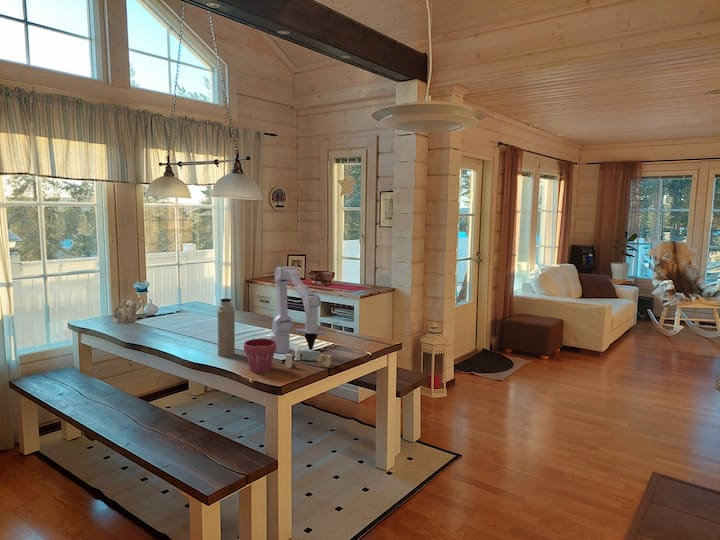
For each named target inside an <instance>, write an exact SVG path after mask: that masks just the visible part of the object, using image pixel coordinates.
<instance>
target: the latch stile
mask: <svg viewBox="0 0 720 540" xmlns="http://www.w3.org/2000/svg"><path fill="white" fill-rule="evenodd" d="M292 367H293V354H292V353H285V368H288V369H291V368H292Z"/></svg>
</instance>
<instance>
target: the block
mask: <svg viewBox="0 0 720 540" xmlns="http://www.w3.org/2000/svg"><path fill="white" fill-rule="evenodd" d="M331 365H332V354H325V353H320V355H319V356H318V361H317V367H321V368H322V367H324V368H329V367H330V366H331Z"/></svg>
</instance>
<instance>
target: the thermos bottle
mask: <svg viewBox="0 0 720 540" xmlns="http://www.w3.org/2000/svg"><path fill="white" fill-rule="evenodd" d="M235 317H236V316H235V309H234V305H233V304H232V298H228V297H227V298H221V299H220V304H219V306H218V310H217V356H218V357H222V358H228V357H234V356H235V350H236V349H235V347H236V345H235V344H236V343H235V341H236V340H235V331H236V330H235V329H236V328H235V327H236V326H235V324H236V322H235V321H236V319H235Z"/></svg>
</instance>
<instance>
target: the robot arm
mask: <svg viewBox="0 0 720 540" xmlns="http://www.w3.org/2000/svg"><path fill="white" fill-rule="evenodd" d="M290 282H291V283H292V284H293V286H295V288H297V291H296V293H297V294H298V295H299V297H300V298H301V300H302V304H303V306H304V307H303V308H304V312H305V317H304V318H305V321H304V322H305V323H304V325H305V326H304V328H296V329H295V334H298V335H299V334H304V338H305V341H306V343H307V347H308V350H309V351H313V349H314V344H315V343H316V340H317V337H318V336H323V337H324V336H327V333H328V332H327V331H328V330H322V329H319V328H318V325H319V324H318V323H319V322H318V321H319V320H318V318H319V316H318V314H319V307H320V306H321V304H322V303H321V298H320V296H319V295H318V294H315V293H313V291H312V290H311V288H309V286H308V285H307V284H304V283H303V281H302V280H301V278H300V276H299V271H298V269H297V267H296V266H295V265H291V266H278V267H276V268H275V270H274V283H275V284H276V309H277V310H276V311H277V312H276V313H277V315H276V316H275V317H274V318H273V319H272V324H271V332H272V333H271V335H270V338H269V339H272V340H274V341H276V351H275V352H274V353H280V354H289V352H290V351H292V350H293V348H291V347H290V337H291V336H290V335H291V334H292V332H293V330H294V323H293V318H292V317H291V316H290V315H289V313H288V311H289V308H288V284H289V283H290Z"/></svg>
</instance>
